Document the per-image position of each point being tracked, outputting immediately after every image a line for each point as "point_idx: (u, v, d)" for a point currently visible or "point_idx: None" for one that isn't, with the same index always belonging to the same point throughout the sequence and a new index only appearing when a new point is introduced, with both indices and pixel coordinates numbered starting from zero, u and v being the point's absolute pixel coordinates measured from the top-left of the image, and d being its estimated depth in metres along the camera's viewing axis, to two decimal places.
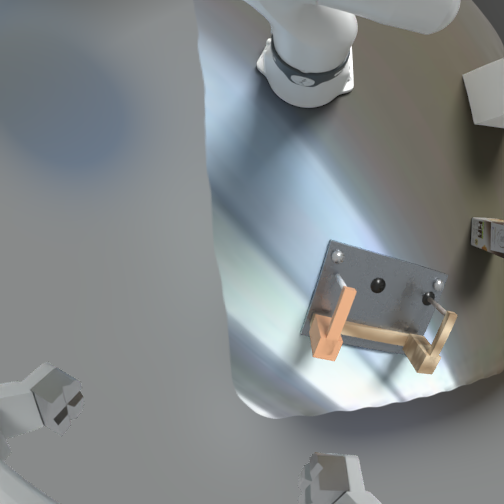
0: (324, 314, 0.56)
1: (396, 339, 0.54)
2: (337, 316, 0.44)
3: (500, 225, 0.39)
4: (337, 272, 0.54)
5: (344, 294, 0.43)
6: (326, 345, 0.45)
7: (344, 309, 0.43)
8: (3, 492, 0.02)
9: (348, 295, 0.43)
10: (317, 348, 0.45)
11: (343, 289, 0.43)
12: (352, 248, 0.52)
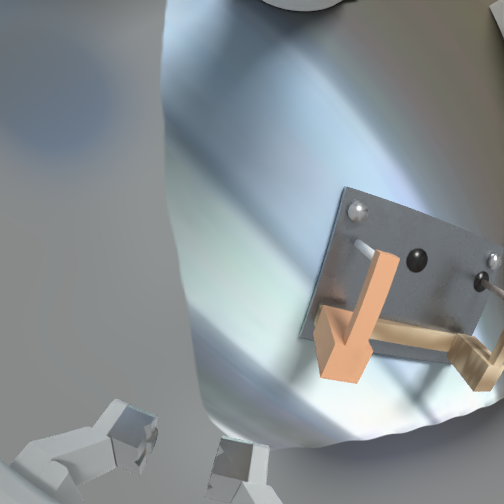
0: (336, 306, 0.35)
1: (439, 342, 0.33)
2: (365, 305, 0.24)
3: None
4: (357, 238, 0.33)
5: (379, 264, 0.23)
6: (344, 358, 0.25)
7: (378, 292, 0.23)
8: (3, 492, 0.02)
9: (386, 266, 0.23)
10: (328, 363, 0.25)
11: (376, 255, 0.23)
12: (379, 200, 0.32)
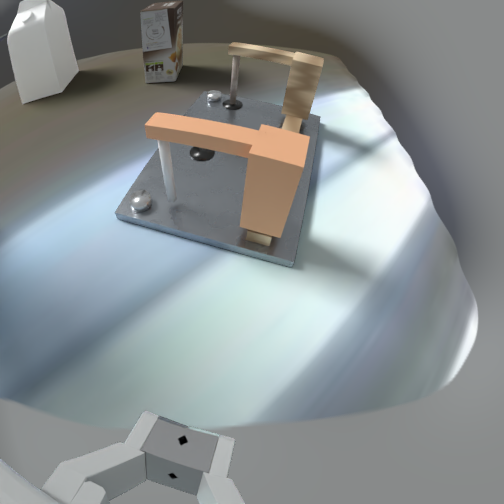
0: None
1: (291, 125, 0.38)
2: (200, 130, 0.21)
3: (142, 37, 0.38)
4: (169, 203, 0.31)
5: (155, 124, 0.21)
6: (270, 145, 0.20)
7: (186, 123, 0.21)
8: (3, 492, 0.02)
9: (159, 120, 0.21)
10: (279, 159, 0.20)
11: (149, 131, 0.21)
12: (135, 184, 0.32)
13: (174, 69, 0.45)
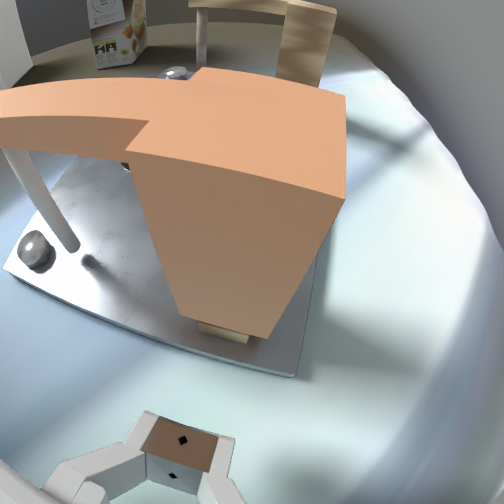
0: None
1: None
2: (37, 108, 0.06)
3: (88, 10, 0.23)
4: None
5: None
6: (214, 116, 0.05)
7: (26, 97, 0.06)
8: (3, 492, 0.02)
9: None
10: (241, 164, 0.05)
11: None
12: (35, 217, 0.17)
13: (130, 48, 0.30)
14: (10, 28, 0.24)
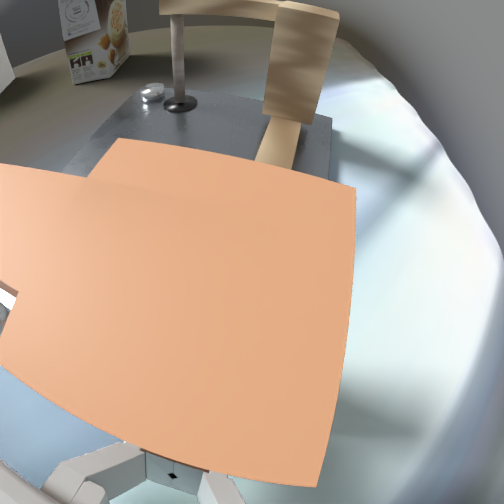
0: None
1: (280, 136, 0.20)
2: None
3: (61, 21, 0.20)
4: None
5: None
6: (105, 291, 0.03)
7: None
8: (3, 492, 0.02)
9: None
10: (142, 429, 0.02)
11: None
12: None
13: (108, 60, 0.27)
14: None
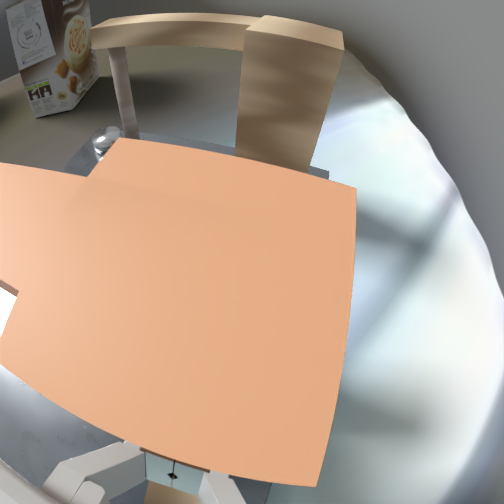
0: None
1: None
2: None
3: (14, 48, 0.16)
4: (1, 445, 0.08)
5: None
6: (105, 290, 0.03)
7: None
8: (3, 492, 0.02)
9: None
10: (142, 429, 0.02)
11: None
12: None
13: (67, 90, 0.23)
14: None
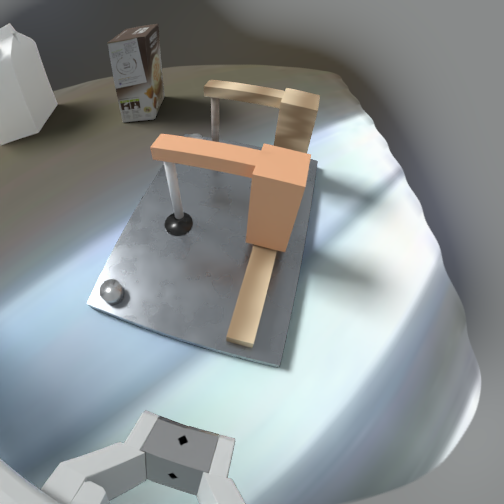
0: (229, 317, 0.27)
1: None
2: (204, 152, 0.22)
3: (113, 72, 0.35)
4: (142, 294, 0.27)
5: (161, 146, 0.22)
6: (273, 165, 0.22)
7: (191, 144, 0.22)
8: (3, 492, 0.02)
9: (164, 142, 0.22)
10: (281, 179, 0.21)
11: (155, 153, 0.23)
12: (106, 267, 0.28)
13: (152, 106, 0.42)
14: (35, 72, 0.37)
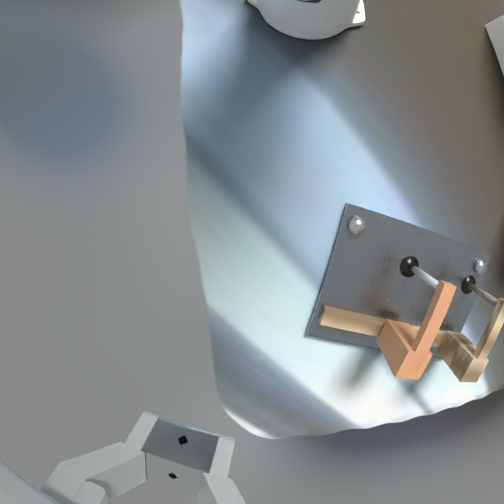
0: (339, 306, 0.41)
1: None
2: (432, 321, 0.28)
3: None
4: (356, 248, 0.38)
5: (443, 291, 0.27)
6: (413, 361, 0.30)
7: (441, 311, 0.28)
8: (3, 492, 0.02)
9: (447, 292, 0.27)
10: (402, 365, 0.30)
11: (441, 284, 0.28)
12: (376, 215, 0.37)
13: None
14: None
